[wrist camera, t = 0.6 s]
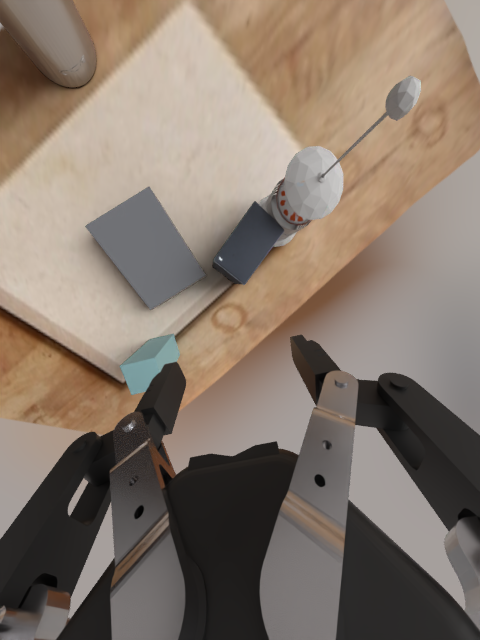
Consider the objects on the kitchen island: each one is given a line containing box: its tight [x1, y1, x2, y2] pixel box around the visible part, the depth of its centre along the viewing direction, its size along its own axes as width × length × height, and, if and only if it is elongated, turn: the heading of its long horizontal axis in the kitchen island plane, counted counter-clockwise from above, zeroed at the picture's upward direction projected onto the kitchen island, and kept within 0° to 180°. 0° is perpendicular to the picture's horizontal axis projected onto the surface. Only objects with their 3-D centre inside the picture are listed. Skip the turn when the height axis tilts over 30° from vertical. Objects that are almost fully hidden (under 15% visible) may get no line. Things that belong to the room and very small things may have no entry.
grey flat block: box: [85, 187, 206, 310], centre depth 31 cm, size 16×12×4 cm
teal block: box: [120, 334, 180, 395], centre depth 31 cm, size 5×5×12 cm
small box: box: [213, 201, 284, 285], centre depth 30 cm, size 11×6×10 cm, turn 143°
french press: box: [259, 76, 421, 247], centre depth 23 cm, size 10×12×25 cm
